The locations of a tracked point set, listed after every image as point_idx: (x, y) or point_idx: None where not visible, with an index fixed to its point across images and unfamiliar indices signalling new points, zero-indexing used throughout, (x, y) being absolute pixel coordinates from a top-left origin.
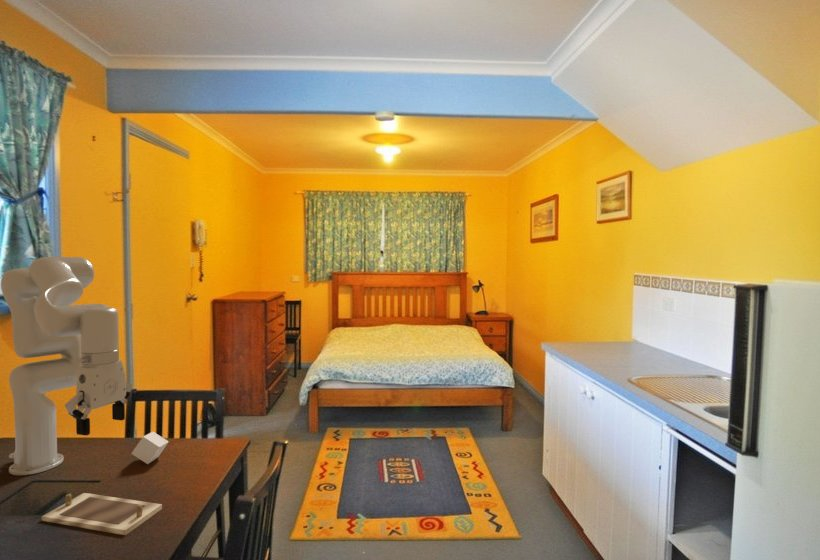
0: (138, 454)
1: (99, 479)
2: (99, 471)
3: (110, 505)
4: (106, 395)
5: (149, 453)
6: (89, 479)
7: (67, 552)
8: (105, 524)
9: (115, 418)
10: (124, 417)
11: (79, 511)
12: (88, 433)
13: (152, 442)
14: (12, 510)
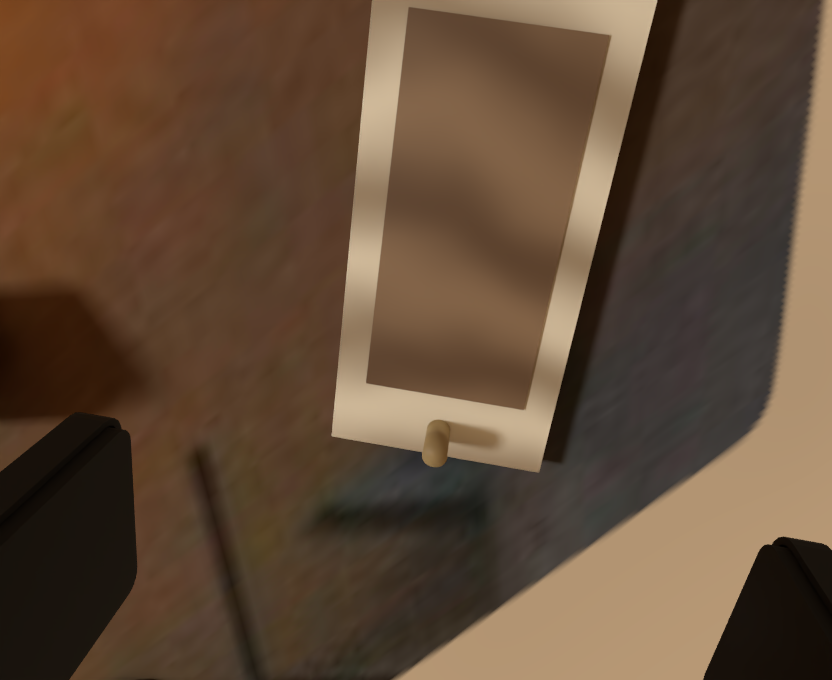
0: None
1: (184, 463)
2: None
3: (430, 222)
4: None
5: None
6: (195, 504)
7: (795, 165)
8: (608, 115)
9: (123, 549)
10: (63, 427)
11: (494, 339)
12: (822, 550)
13: None
14: (465, 612)
